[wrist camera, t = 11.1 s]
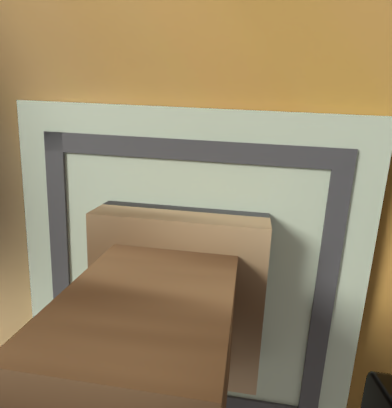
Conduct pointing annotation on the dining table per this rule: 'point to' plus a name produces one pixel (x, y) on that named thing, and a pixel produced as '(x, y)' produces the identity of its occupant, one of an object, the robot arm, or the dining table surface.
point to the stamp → (149, 314)
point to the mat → (226, 200)
